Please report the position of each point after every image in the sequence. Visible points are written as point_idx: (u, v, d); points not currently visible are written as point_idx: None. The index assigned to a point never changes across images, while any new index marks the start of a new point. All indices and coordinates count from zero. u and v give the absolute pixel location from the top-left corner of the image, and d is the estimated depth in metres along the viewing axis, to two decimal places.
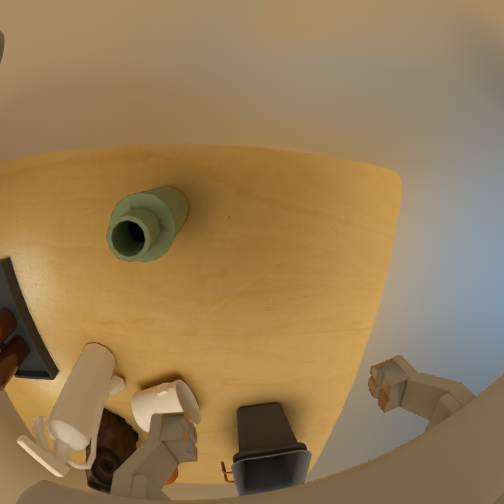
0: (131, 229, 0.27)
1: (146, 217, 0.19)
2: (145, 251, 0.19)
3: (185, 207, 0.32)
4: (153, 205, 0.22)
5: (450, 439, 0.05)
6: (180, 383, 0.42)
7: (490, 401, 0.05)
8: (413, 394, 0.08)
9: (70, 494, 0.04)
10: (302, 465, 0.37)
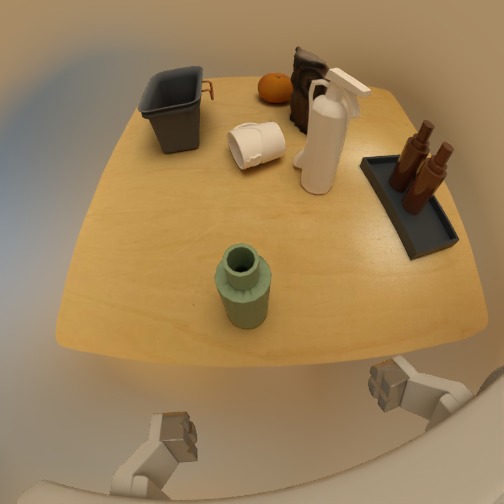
0: None
1: (230, 278, 0.27)
2: (226, 251, 0.26)
3: None
4: (232, 293, 0.28)
5: (450, 439, 0.05)
6: (242, 166, 0.54)
7: (490, 401, 0.05)
8: (413, 394, 0.08)
9: (70, 494, 0.04)
10: (147, 97, 0.49)
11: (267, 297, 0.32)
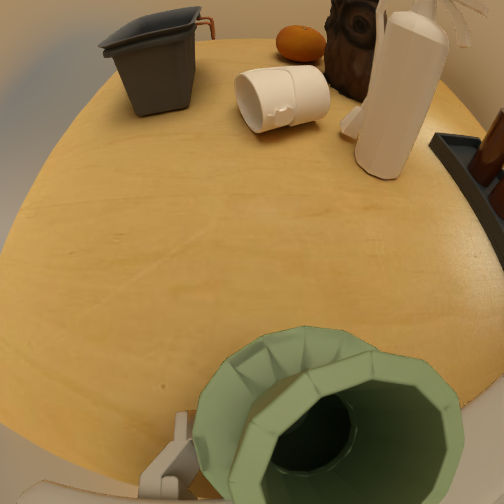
0: None
1: None
2: (262, 423, 0.03)
3: None
4: None
5: None
6: (259, 129, 0.31)
7: (490, 401, 0.05)
8: None
9: (70, 494, 0.04)
10: (116, 37, 0.26)
11: None
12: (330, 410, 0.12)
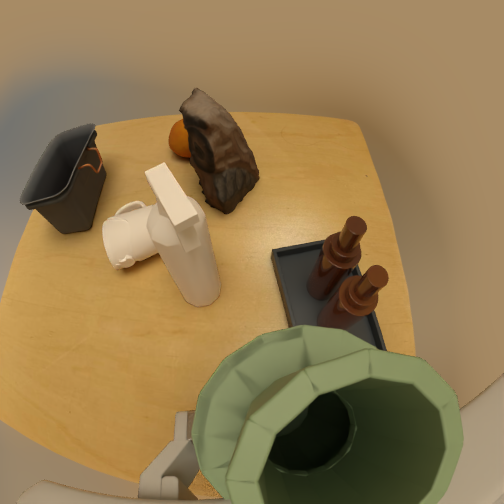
0: None
1: None
2: (260, 420, 0.03)
3: None
4: None
5: None
6: None
7: (490, 401, 0.05)
8: None
9: (70, 494, 0.04)
10: (34, 177, 0.40)
11: None
12: (329, 410, 0.12)
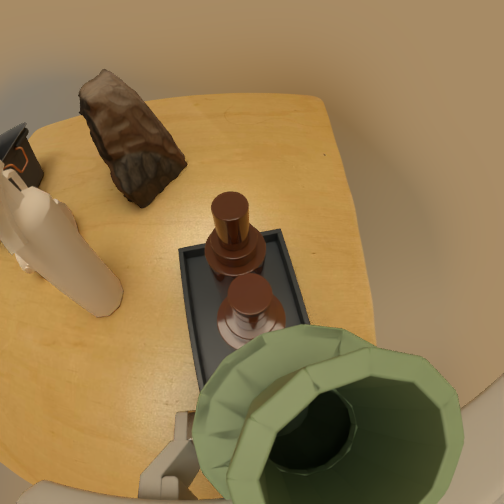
0: None
1: None
2: (261, 419, 0.03)
3: None
4: None
5: None
6: None
7: (490, 401, 0.05)
8: None
9: (70, 494, 0.04)
10: None
11: None
12: (330, 409, 0.12)
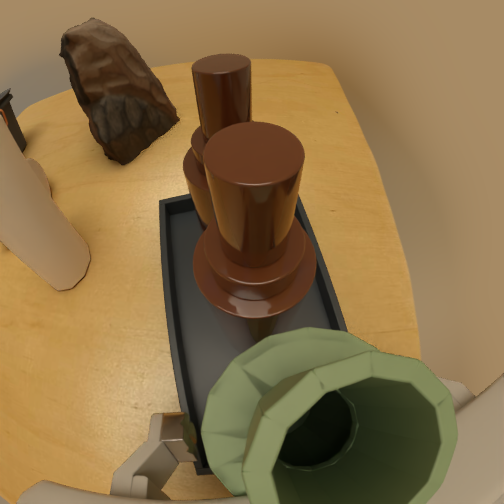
0: None
1: None
2: (273, 416, 0.03)
3: None
4: None
5: None
6: None
7: (490, 401, 0.05)
8: None
9: (70, 494, 0.04)
10: None
11: None
12: (331, 409, 0.13)
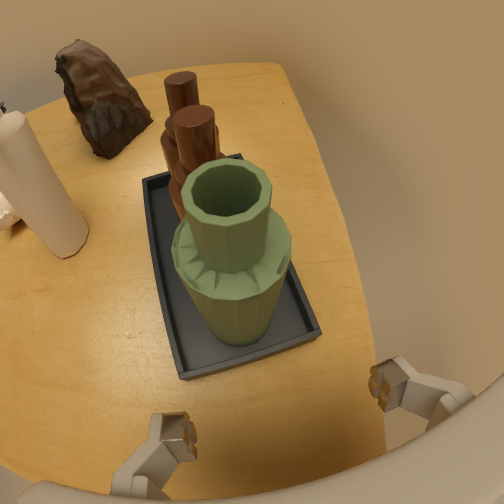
0: None
1: (202, 240, 0.11)
2: (191, 174, 0.10)
3: None
4: (210, 280, 0.13)
5: (450, 439, 0.05)
6: None
7: (490, 401, 0.05)
8: (413, 394, 0.08)
9: (70, 494, 0.04)
10: None
11: (281, 287, 0.16)
12: None
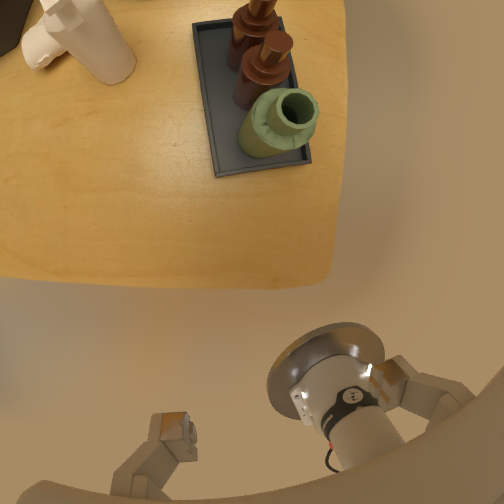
0: (294, 120, 0.27)
1: (278, 125, 0.20)
2: (281, 95, 0.18)
3: (240, 136, 0.32)
4: (271, 137, 0.23)
5: (450, 439, 0.05)
6: None
7: (490, 401, 0.05)
8: (413, 394, 0.08)
9: (70, 494, 0.04)
10: None
11: None
12: None
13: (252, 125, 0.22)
